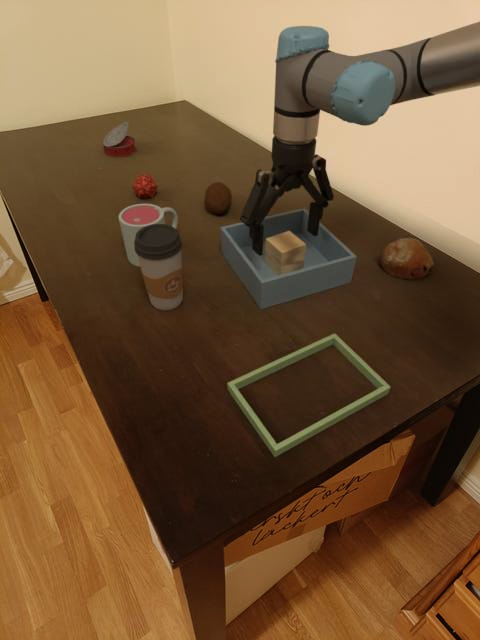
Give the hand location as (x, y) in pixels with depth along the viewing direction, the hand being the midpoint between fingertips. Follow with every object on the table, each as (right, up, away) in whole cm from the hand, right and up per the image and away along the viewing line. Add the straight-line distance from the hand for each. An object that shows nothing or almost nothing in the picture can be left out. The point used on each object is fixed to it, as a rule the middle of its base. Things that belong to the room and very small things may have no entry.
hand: (285, 242), depth 87 cm
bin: (0, -5, +4) cm, 6 cm away
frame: (+1, -27, -19) cm, 34 cm away
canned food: (-47, +38, +49) cm, 78 cm away
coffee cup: (-24, -12, -3) cm, 27 cm away
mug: (-28, 0, +9) cm, 30 cm away
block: (0, -4, +4) cm, 6 cm away
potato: (-15, +13, +23) cm, 30 cm away
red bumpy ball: (-34, +17, +27) cm, 47 cm away
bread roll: (+26, -5, +4) cm, 27 cm away
